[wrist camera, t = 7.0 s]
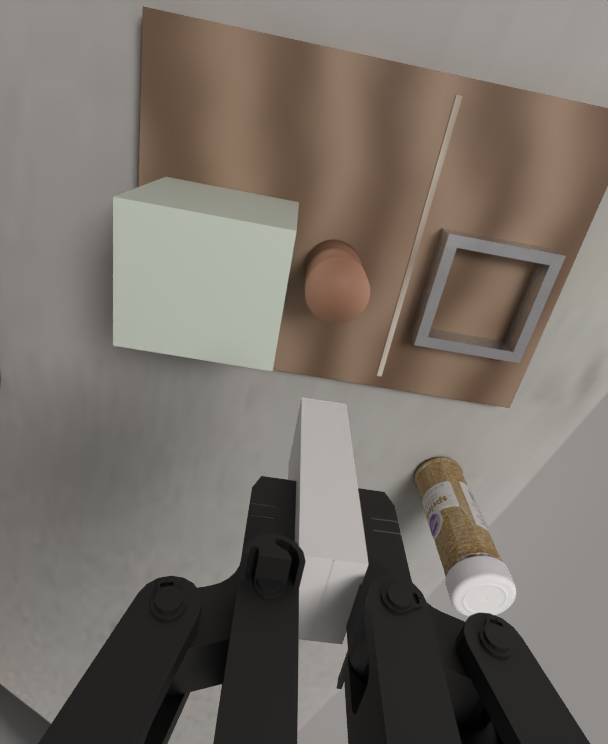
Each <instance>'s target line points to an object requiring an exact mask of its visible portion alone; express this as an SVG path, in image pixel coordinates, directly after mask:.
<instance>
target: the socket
mask: <svg viewBox="0 0 608 744" xmlns="http://www.w3.org/2000/svg"><path fill="white" fill-rule="evenodd" d="M457 248H461V249H466V250H471V251H477V252H482V253H487V254H492V255H498V256H503V257H508V258H514V259H519V260H524V261H529V262H535V265H534V268H533V270H532V273H531V275H530V277H529V280H528V282H527V285H526V287H525V290H524V292H523V295H522V297H521V300H520V302H519V305H518V307H517V310H516V312H515V315H514V317H513V319H512V322H511V324H510V327H509V329H508V332H507V334H506V337H505V339H504V341H500V340H494V339H488V338H483V337H477V336H471V335H466V334H460V333H454V332H448V331H443V330H437V329H431V326H432V323H433V320H434V317H435V314H436V311H437V308H438V305H439V301H440V298H441V295H442V292H443V289H444V286H445V283H446V280H447V277H448V274H449V271H450V268H451V265H452V262H453V258H454V255H455V252H456V249H457ZM565 257H566V256H565V255H563V254H561V253H559V252H557V251H555V250H553V249H549V248H544V247H539V246H534V245H529V244H523V243H518V242H513V241H508V240H503V239H497V238H492V237H487V236H482V235H477V234H471V233H466V232H461V231H456V230H451V229H445V228H441V232H440V235H439V238H438V242H437V245H436V248H435V251H434V255H433V258H432V261H431V264H430V268H429V271H428V274H427V278H426V281H425V284H424V287H423V291H422V294H421V297H420V300H419V304H418V307H417V310H416V314H415V317H414V320H413V323H412V327H411V330H410V333H409V336H410V338H411V340H412V342H413V344H414V345H416V346H422V347H428V348H434V349H439V350H445V351H451V352H457V353H463V354H469V355H475V356H480V357H486V358H492V359H498V360H504V361H510V362H515V363H520V361H521V359H522V357H523V354H524V352H525V350H526V347H527V345H528V343H529V340H530V338H531V336H532V333H533V331H534V329H535V326H536V324H537V322H538V320H539V317H540V315H541V313H542V310H543V308H544V306H545V303H546V301H547V299H548V296H549V294H550V292H551V289H552V287H553V285H554V282H555V280H556V278H557V275H558V273H559V271H560V269H561V266H562V264H563V262H564V259H565Z"/></svg>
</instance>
